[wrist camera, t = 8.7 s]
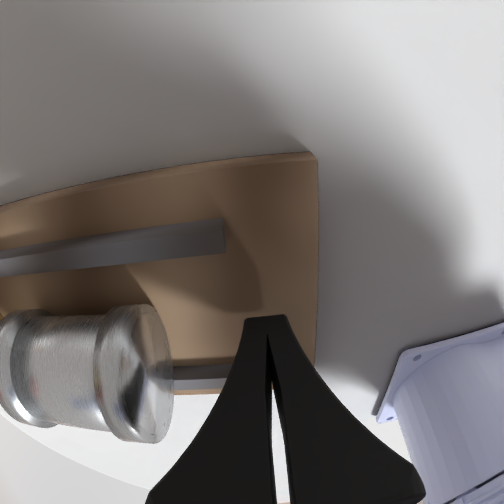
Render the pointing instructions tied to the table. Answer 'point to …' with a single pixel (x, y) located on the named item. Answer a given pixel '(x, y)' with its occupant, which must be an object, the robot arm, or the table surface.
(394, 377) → the robot arm
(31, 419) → the pipe coupling
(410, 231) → the table surface
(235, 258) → the slider rig
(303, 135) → the table surface
